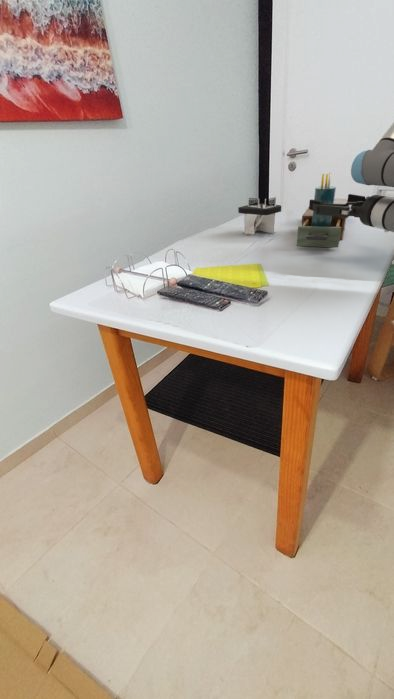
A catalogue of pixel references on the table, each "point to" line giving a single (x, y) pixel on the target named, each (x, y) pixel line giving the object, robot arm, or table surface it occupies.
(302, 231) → the drawer
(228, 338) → the table surface
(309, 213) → the cabinet
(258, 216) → the black-topped pedestal
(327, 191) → the straw cup
